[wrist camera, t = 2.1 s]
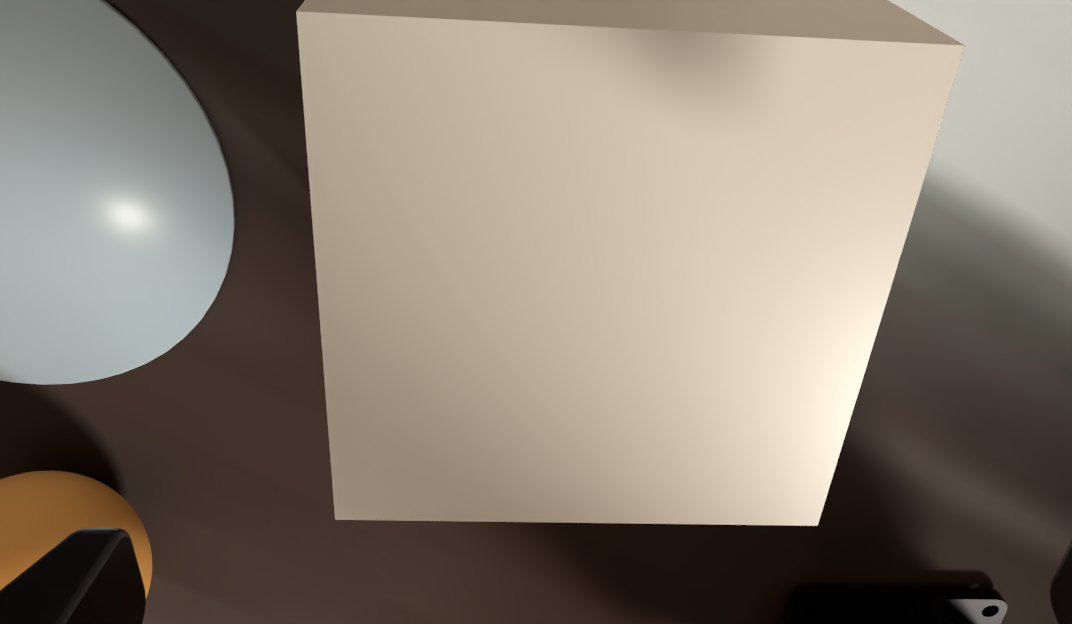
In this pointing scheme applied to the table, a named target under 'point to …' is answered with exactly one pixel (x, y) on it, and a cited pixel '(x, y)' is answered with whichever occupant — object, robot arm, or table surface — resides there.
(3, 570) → the ball
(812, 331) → the block
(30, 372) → the disc
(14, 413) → the table surface
